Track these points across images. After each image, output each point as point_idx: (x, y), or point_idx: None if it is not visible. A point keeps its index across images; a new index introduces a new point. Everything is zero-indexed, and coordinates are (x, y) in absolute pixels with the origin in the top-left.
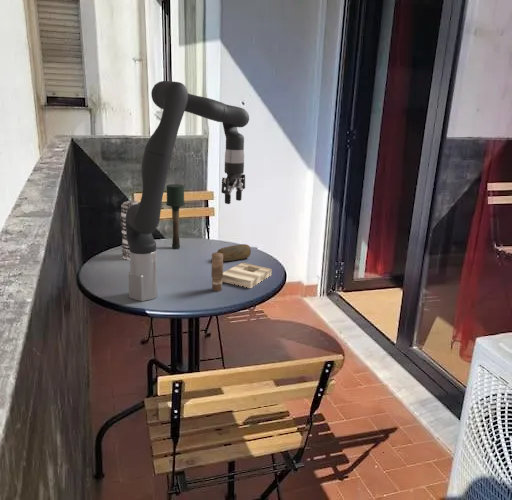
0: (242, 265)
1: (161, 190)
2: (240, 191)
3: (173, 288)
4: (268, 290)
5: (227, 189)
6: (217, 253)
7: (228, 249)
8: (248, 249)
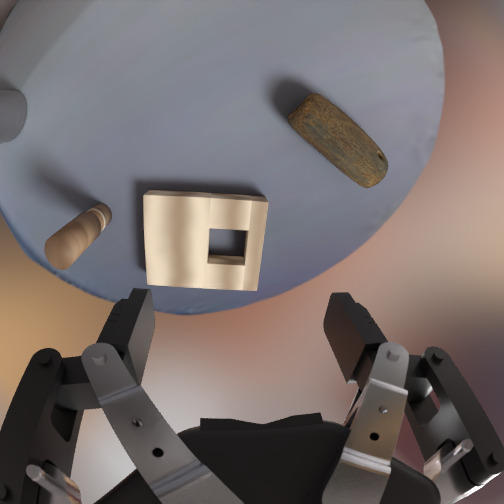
0: (243, 214)
1: None
2: (360, 376)
3: (56, 129)
4: (167, 308)
5: (60, 426)
6: (62, 249)
7: (320, 133)
8: (363, 184)
